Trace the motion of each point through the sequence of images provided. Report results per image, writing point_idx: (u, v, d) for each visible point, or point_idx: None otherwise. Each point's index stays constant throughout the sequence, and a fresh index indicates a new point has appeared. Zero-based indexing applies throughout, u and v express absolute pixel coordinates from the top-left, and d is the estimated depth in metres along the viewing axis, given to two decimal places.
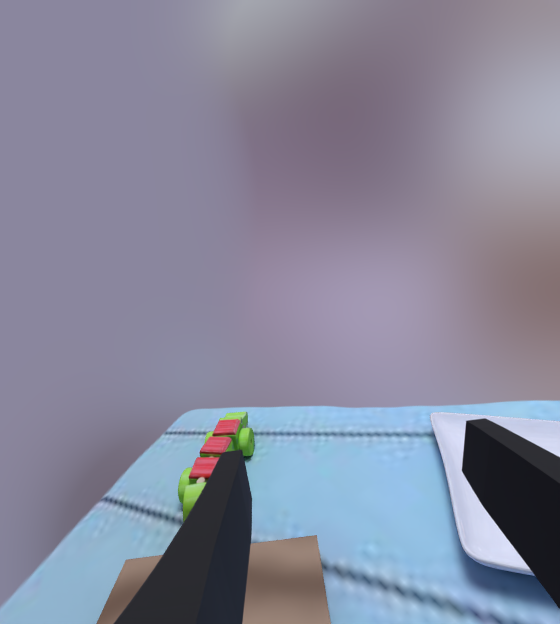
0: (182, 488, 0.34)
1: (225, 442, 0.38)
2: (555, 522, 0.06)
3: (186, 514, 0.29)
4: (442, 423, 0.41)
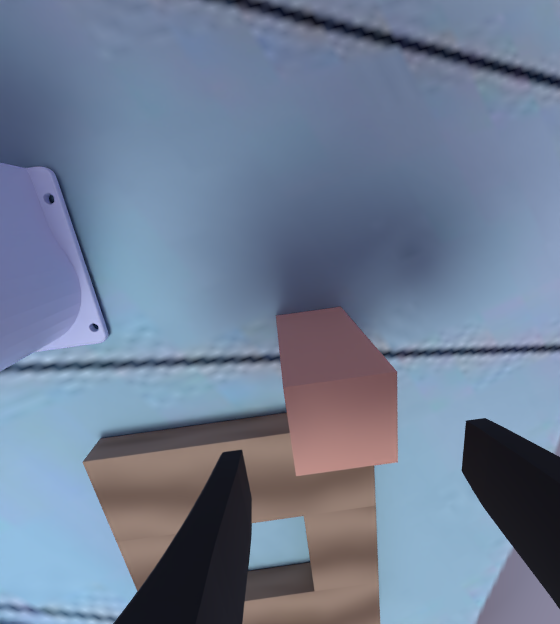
0: None
1: None
2: (555, 522, 0.06)
3: None
4: None
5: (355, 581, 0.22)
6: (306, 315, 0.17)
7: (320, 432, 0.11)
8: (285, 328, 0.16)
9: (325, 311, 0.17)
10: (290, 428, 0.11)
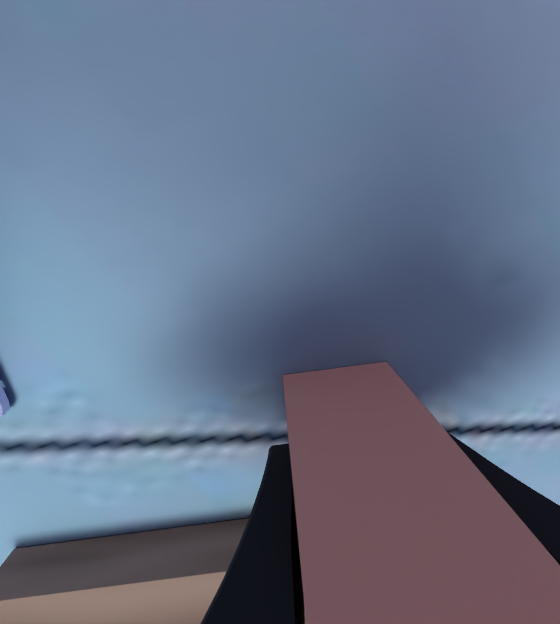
0: None
1: None
2: None
3: None
4: None
5: None
6: (333, 379, 0.10)
7: None
8: (299, 411, 0.09)
9: (364, 371, 0.11)
10: None
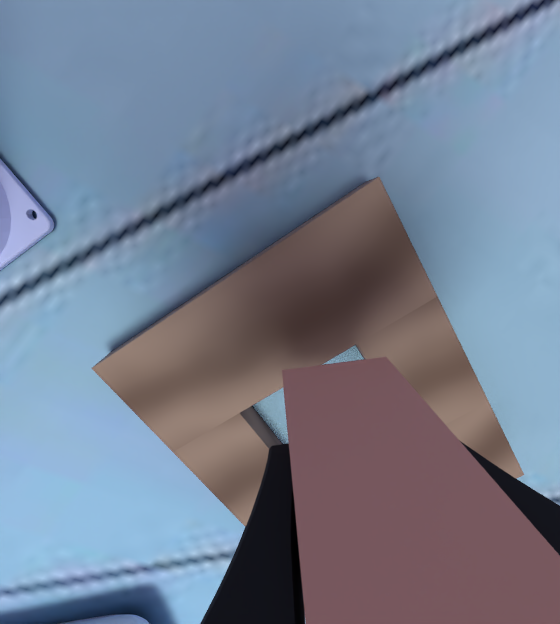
0: None
1: None
2: None
3: None
4: None
5: (458, 410, 0.18)
6: (332, 374, 0.10)
7: None
8: (299, 404, 0.09)
9: (363, 366, 0.11)
10: None
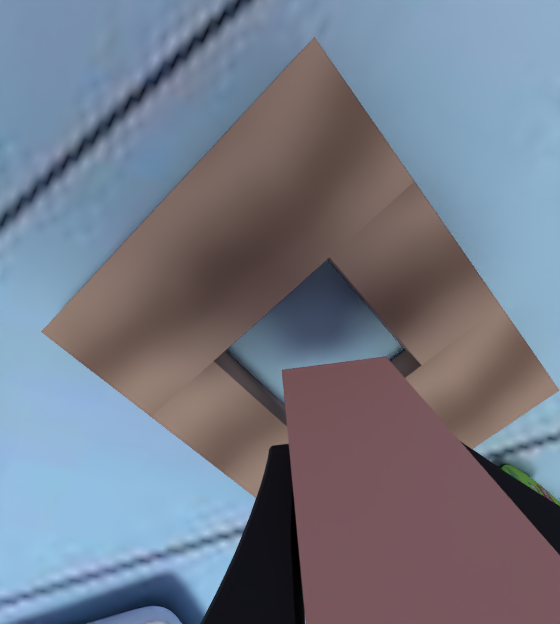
0: None
1: None
2: None
3: None
4: None
5: (466, 321, 0.15)
6: (332, 373, 0.10)
7: None
8: (299, 405, 0.09)
9: (363, 366, 0.11)
10: None
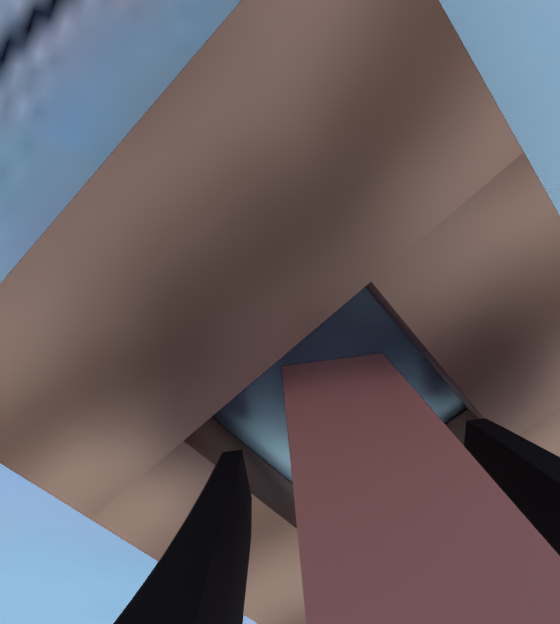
0: None
1: None
2: (555, 522, 0.06)
3: None
4: None
5: None
6: (330, 369, 0.11)
7: None
8: (298, 399, 0.09)
9: (360, 362, 0.11)
10: None
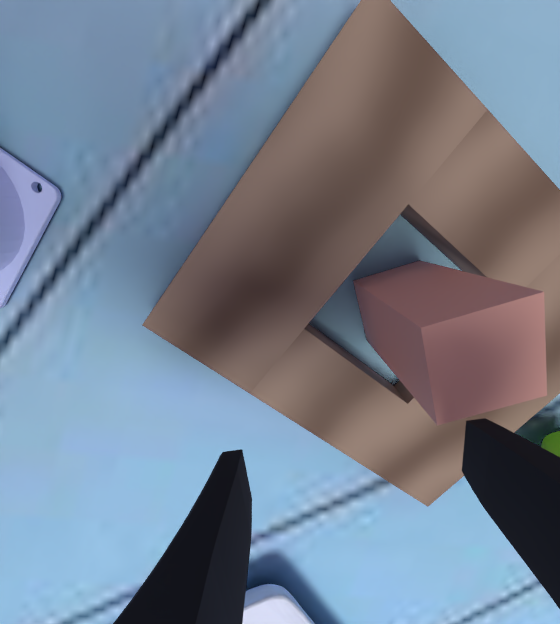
0: None
1: None
2: (555, 522, 0.06)
3: None
4: None
5: (555, 247, 0.15)
6: (387, 273, 0.16)
7: (461, 372, 0.10)
8: (373, 286, 0.15)
9: (406, 267, 0.16)
10: (429, 372, 0.10)
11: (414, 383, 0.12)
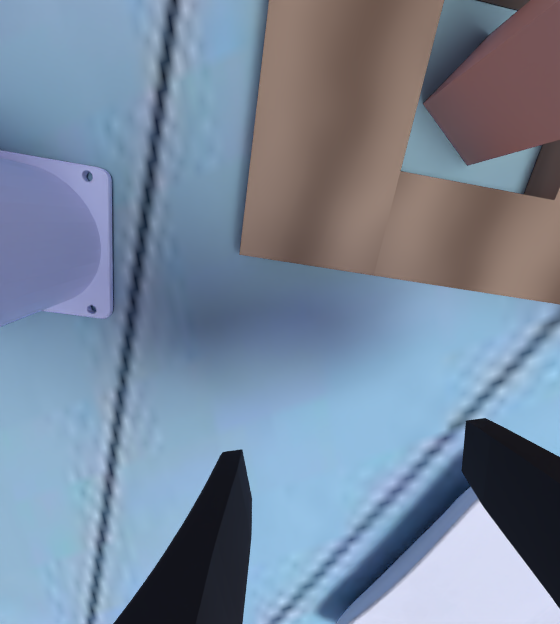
0: None
1: None
2: (555, 522, 0.06)
3: None
4: None
5: None
6: (461, 66, 0.14)
7: None
8: (458, 74, 0.12)
9: (478, 47, 0.14)
10: None
11: None
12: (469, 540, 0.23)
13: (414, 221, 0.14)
